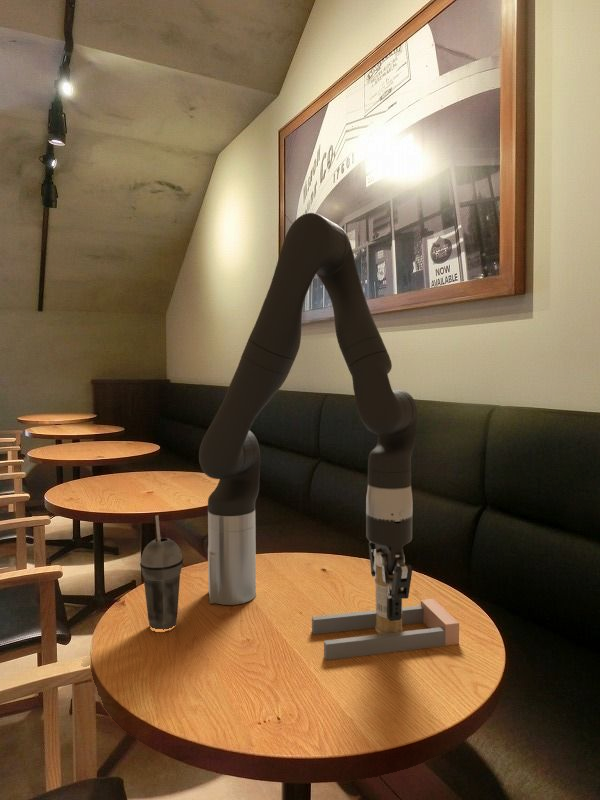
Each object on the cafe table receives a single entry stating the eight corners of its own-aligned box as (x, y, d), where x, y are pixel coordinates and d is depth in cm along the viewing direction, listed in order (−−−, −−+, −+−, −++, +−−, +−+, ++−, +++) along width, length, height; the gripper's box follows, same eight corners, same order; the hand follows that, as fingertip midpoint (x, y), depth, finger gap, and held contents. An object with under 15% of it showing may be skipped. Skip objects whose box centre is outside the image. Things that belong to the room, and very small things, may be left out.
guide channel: (326, 660, 82) (326, 638, 82) (311, 631, 92) (311, 611, 91) (458, 643, 87) (459, 623, 87) (432, 617, 96) (433, 598, 96)
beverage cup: (192, 620, 96) (190, 510, 95) (169, 639, 89) (167, 521, 88) (157, 614, 98) (155, 506, 97) (132, 632, 91) (129, 517, 90)
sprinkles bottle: (408, 633, 89) (408, 553, 88) (387, 641, 86) (388, 559, 85) (389, 622, 93) (389, 546, 92) (369, 629, 90) (369, 551, 89)
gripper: (354, 502, 94) (354, 596, 95) (382, 525, 80) (382, 636, 81) (394, 499, 96) (393, 593, 97) (429, 522, 82) (428, 630, 83)
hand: (388, 612), depth 89 cm, fingers closed on sprinkles bottle, 4 cm apart
